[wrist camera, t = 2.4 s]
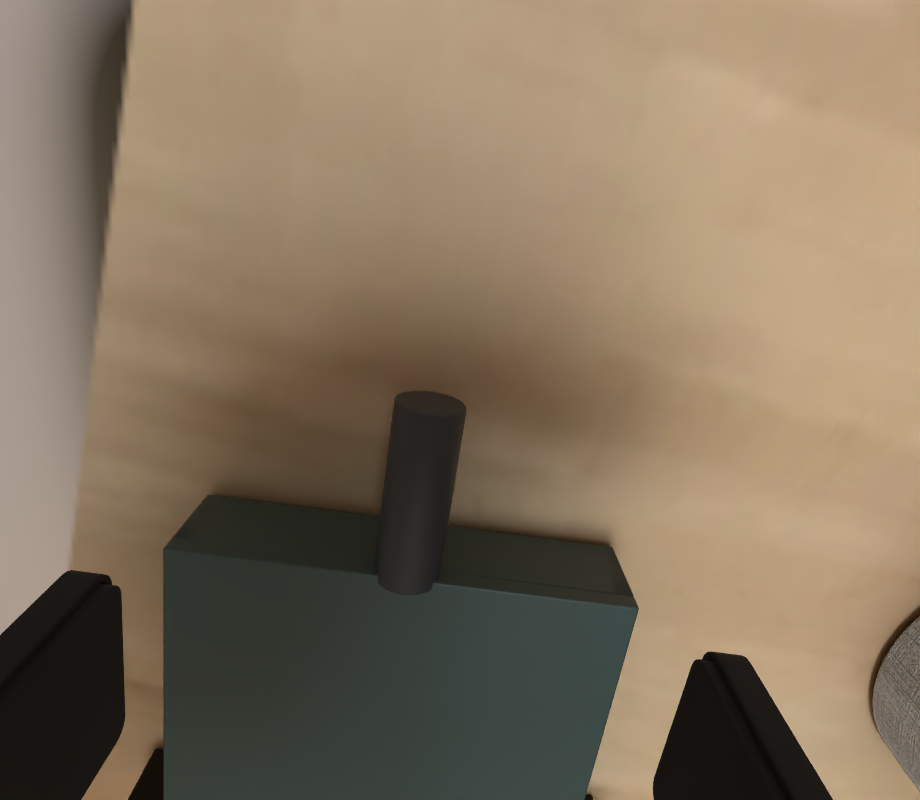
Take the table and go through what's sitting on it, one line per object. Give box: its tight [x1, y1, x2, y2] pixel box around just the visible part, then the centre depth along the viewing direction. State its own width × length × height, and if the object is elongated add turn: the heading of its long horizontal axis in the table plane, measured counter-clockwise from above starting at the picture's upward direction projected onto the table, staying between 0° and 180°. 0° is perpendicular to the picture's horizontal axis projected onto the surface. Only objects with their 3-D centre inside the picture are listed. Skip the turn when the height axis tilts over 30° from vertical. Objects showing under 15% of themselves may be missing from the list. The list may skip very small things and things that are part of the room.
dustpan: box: [163, 391, 639, 800], centre depth 21 cm, size 17×14×4 cm
